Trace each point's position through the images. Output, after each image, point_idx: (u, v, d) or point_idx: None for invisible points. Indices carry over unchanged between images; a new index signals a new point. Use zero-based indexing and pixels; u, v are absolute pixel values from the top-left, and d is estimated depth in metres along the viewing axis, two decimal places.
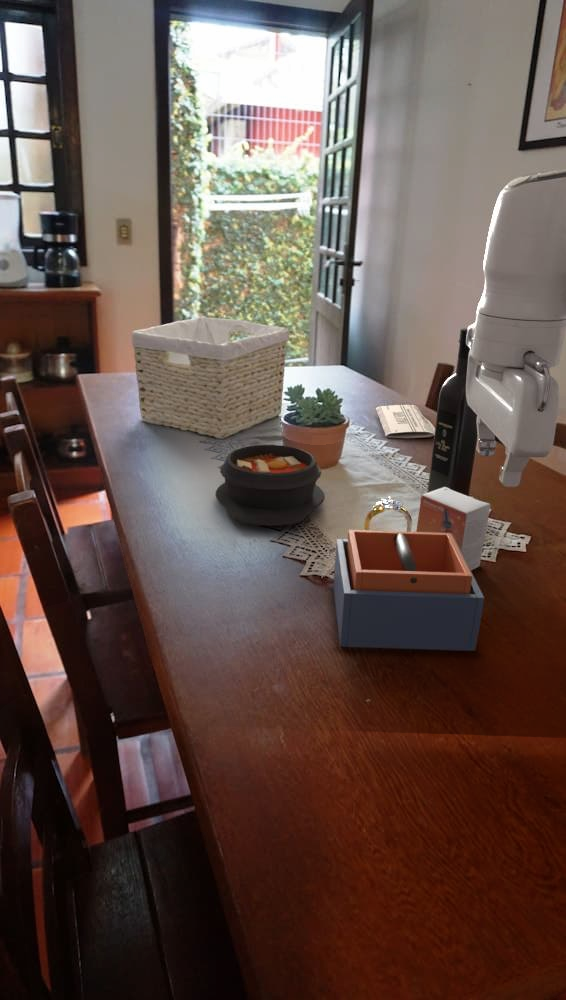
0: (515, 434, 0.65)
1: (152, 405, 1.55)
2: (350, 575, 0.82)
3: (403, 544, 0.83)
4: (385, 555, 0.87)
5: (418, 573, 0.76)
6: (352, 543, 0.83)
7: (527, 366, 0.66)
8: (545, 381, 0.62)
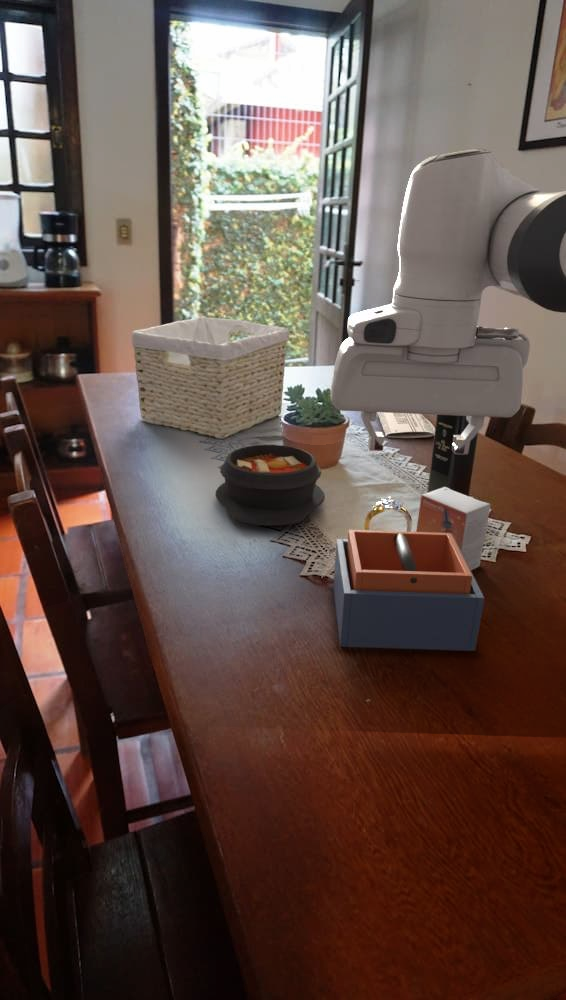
0: (516, 398, 0.72)
1: (152, 405, 1.55)
2: (350, 575, 0.82)
3: (403, 544, 0.83)
4: (385, 555, 0.87)
5: (418, 573, 0.76)
6: (352, 543, 0.83)
7: (483, 339, 0.71)
8: (529, 344, 0.71)
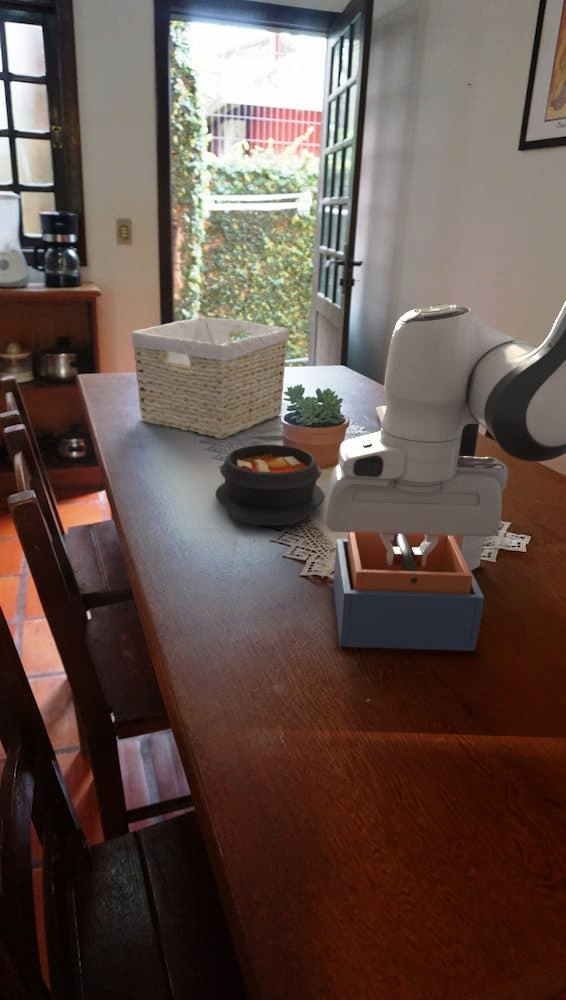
0: (495, 521, 0.77)
1: (152, 405, 1.55)
2: (350, 575, 0.82)
3: (404, 544, 0.83)
4: (385, 555, 0.87)
5: (418, 573, 0.76)
6: (352, 543, 0.83)
7: (465, 468, 0.76)
8: (507, 471, 0.77)
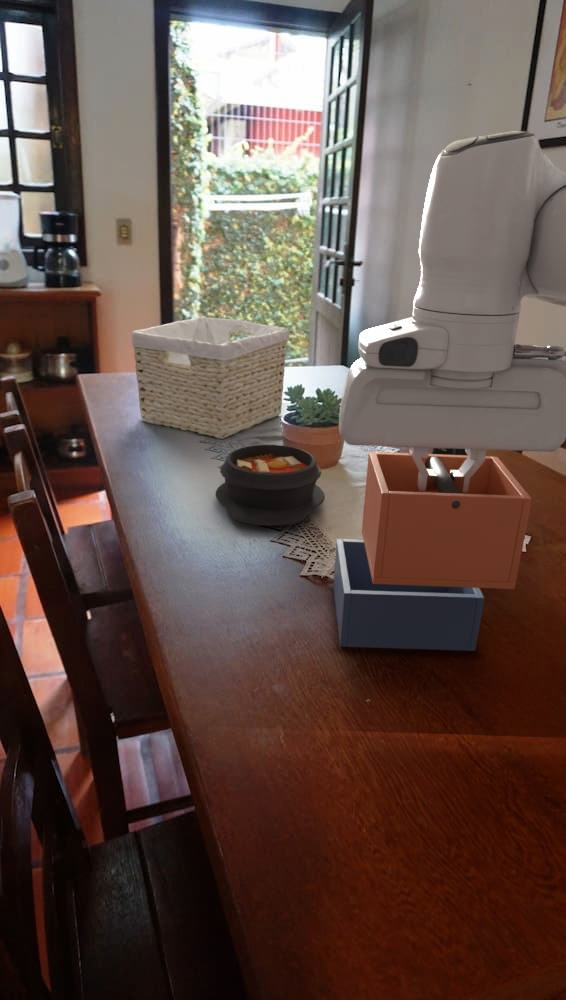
0: (560, 429, 0.60)
1: (152, 405, 1.55)
2: (372, 504, 0.65)
3: (439, 466, 0.66)
4: (414, 484, 0.70)
5: (462, 495, 0.59)
6: (374, 464, 0.65)
7: (522, 360, 0.59)
8: None
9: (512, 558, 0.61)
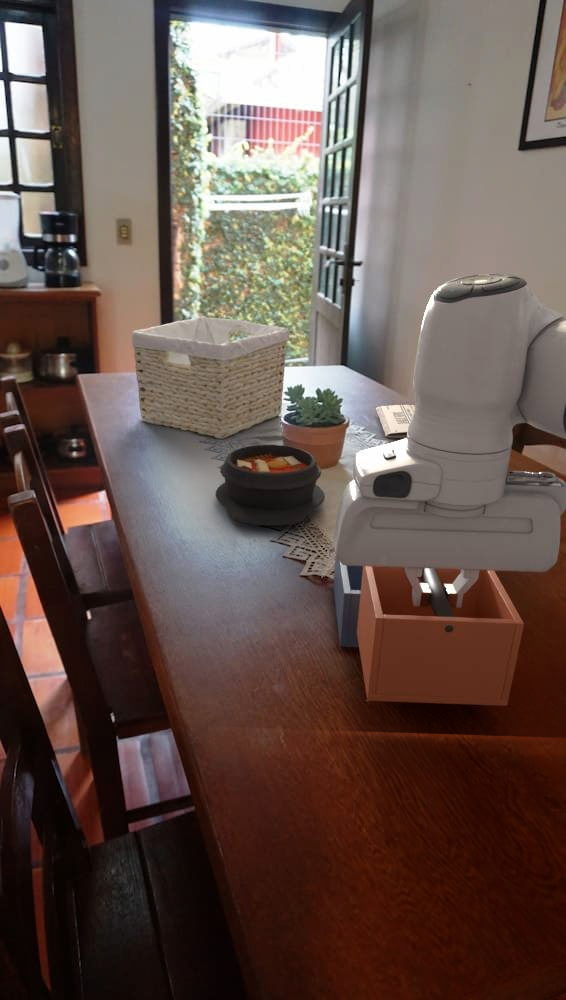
0: (552, 553, 0.61)
1: (152, 405, 1.55)
2: (367, 618, 0.66)
3: (433, 579, 0.66)
4: (409, 590, 0.70)
5: (455, 620, 0.60)
6: (369, 577, 0.66)
7: (514, 486, 0.60)
8: None
9: (505, 677, 0.62)
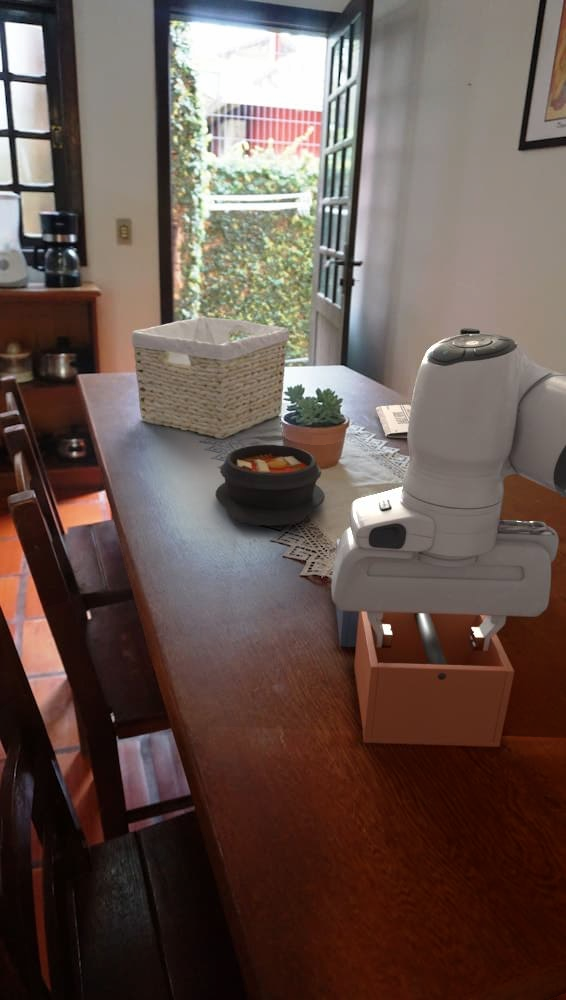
0: (543, 599, 0.63)
1: (152, 405, 1.55)
2: (362, 662, 0.68)
3: (427, 623, 0.68)
4: (404, 632, 0.72)
5: (447, 668, 0.62)
6: (365, 623, 0.68)
7: (506, 535, 0.62)
8: (558, 539, 0.62)
9: (496, 721, 0.64)
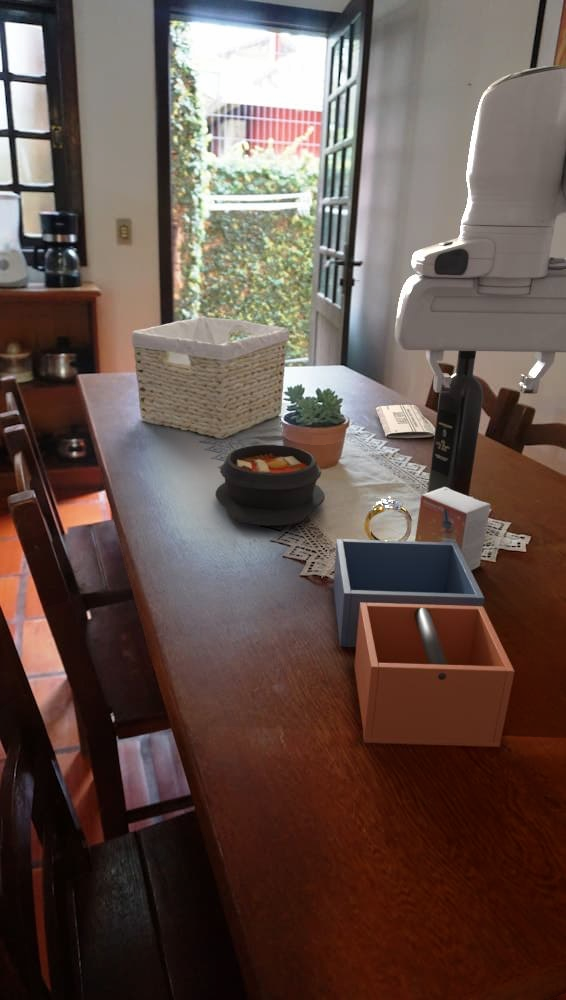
0: None
1: (152, 405, 1.55)
2: (363, 662, 0.68)
3: (427, 623, 0.68)
4: (404, 632, 0.72)
5: (448, 668, 0.62)
6: (365, 623, 0.68)
7: (555, 271, 0.69)
8: None
9: (496, 721, 0.64)
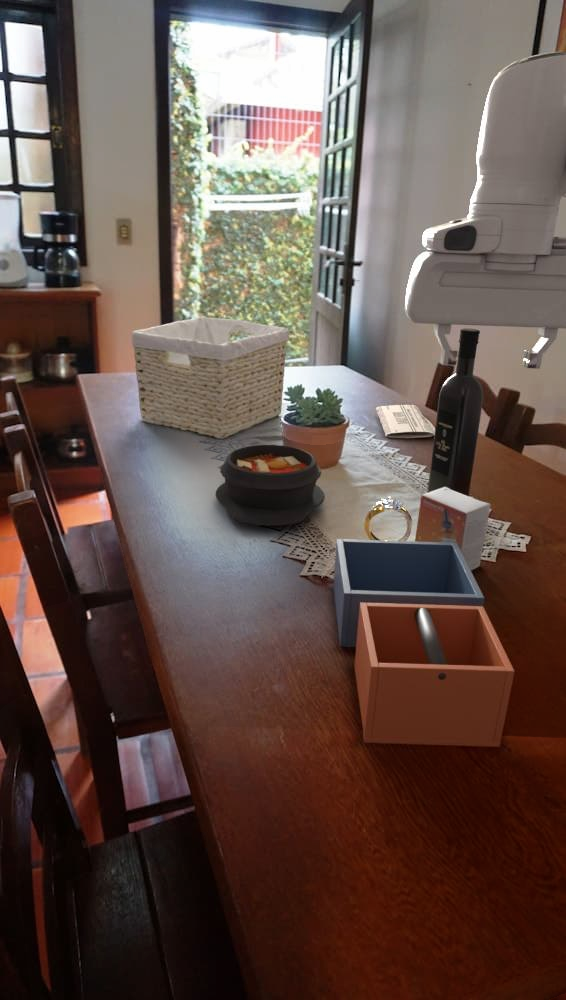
0: None
1: (152, 405, 1.55)
2: (363, 662, 0.68)
3: (427, 623, 0.68)
4: (404, 632, 0.72)
5: (448, 668, 0.62)
6: (365, 623, 0.68)
7: (559, 250, 0.72)
8: None
9: (496, 721, 0.64)
